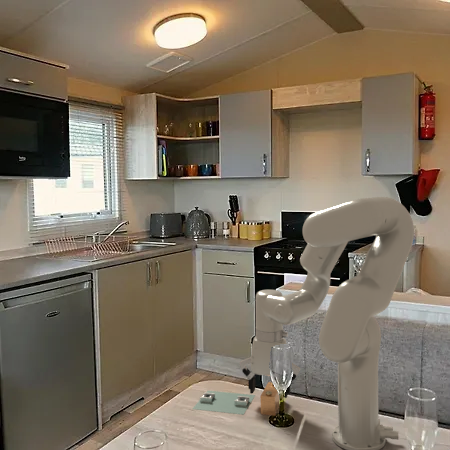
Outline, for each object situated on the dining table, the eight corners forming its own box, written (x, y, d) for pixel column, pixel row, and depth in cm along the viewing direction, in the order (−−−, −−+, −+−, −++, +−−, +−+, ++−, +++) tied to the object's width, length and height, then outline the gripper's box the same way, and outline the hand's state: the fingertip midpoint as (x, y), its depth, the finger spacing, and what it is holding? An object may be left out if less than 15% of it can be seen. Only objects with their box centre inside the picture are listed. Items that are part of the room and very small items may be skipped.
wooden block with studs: (282, 403, 144) (281, 381, 143) (275, 418, 134) (274, 395, 134) (269, 401, 145) (268, 379, 144) (261, 417, 135) (260, 393, 135)
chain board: (255, 397, 148) (255, 395, 148) (243, 417, 135) (243, 414, 135) (207, 393, 152) (207, 390, 152) (192, 411, 140) (192, 408, 140)
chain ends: (249, 401, 143) (249, 396, 143) (246, 406, 140) (246, 402, 140) (204, 397, 148) (203, 392, 147) (199, 401, 144) (199, 397, 144)
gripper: (302, 333, 139) (302, 392, 141) (242, 328, 144) (243, 384, 146) (298, 341, 132) (297, 403, 134) (235, 336, 137) (236, 395, 139)
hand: (269, 393), depth 140 cm, fingers open, 9 cm apart
